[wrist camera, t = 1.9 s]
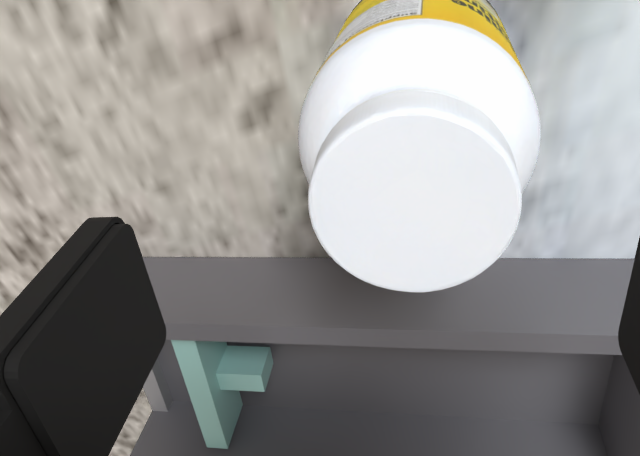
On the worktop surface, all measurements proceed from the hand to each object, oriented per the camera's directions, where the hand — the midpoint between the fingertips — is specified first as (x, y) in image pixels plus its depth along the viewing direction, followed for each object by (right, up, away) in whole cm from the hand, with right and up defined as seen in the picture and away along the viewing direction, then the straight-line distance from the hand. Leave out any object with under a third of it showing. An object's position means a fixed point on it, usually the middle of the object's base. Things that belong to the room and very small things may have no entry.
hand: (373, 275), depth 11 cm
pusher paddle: (-5, -6, +20) cm, 22 cm away
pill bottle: (+3, +8, +12) cm, 14 cm away
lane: (+1, -5, +20) cm, 21 cm away
